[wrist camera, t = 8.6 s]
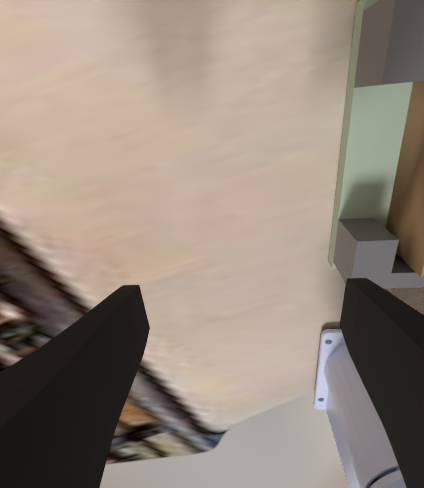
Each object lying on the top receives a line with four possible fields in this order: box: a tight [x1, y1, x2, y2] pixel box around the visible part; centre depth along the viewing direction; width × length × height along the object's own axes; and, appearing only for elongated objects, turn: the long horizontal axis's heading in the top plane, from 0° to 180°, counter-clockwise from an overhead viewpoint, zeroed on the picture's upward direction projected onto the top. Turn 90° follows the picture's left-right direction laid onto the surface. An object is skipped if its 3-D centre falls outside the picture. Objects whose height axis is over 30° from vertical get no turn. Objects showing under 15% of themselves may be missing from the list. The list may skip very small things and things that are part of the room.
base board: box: [328, 0, 413, 269], centre depth 16 cm, size 14×8×1 cm, turn 5°
